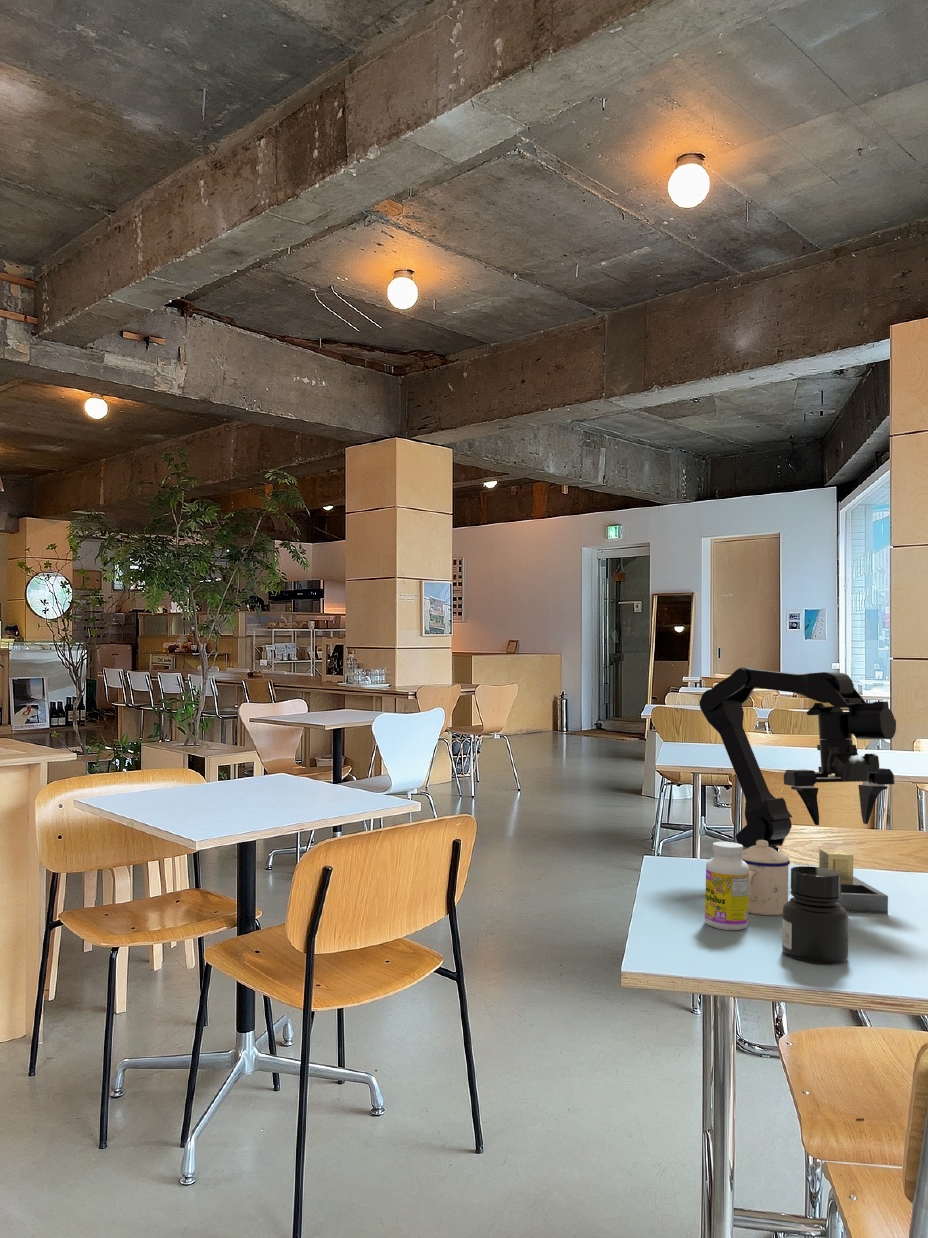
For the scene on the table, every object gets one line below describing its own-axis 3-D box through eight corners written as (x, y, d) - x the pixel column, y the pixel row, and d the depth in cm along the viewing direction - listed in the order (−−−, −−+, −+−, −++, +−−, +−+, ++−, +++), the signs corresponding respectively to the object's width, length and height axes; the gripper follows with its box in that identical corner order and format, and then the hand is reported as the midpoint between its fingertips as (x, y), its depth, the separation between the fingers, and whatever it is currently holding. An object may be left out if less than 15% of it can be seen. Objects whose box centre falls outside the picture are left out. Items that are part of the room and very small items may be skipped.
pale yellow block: (829, 882, 165) (829, 854, 165) (818, 875, 170) (818, 848, 170) (854, 883, 165) (854, 855, 165) (842, 876, 170) (842, 849, 170)
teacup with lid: (745, 899, 162) (746, 833, 163) (796, 909, 157) (797, 841, 157) (718, 912, 153) (719, 842, 154) (772, 923, 147) (773, 850, 148)
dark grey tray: (834, 911, 156) (835, 894, 156) (804, 890, 171) (804, 874, 171) (887, 913, 156) (888, 896, 156) (852, 892, 171) (852, 876, 171)
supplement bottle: (696, 921, 147) (697, 841, 148) (730, 918, 149) (731, 839, 150) (722, 933, 141) (723, 849, 141) (757, 930, 143) (758, 847, 144)
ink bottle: (799, 942, 137) (800, 861, 138) (858, 956, 131) (859, 872, 132) (770, 955, 130) (771, 870, 131) (831, 971, 124) (832, 882, 125)
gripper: (804, 741, 161) (810, 830, 160) (907, 739, 162) (913, 828, 161) (780, 740, 172) (785, 824, 171) (876, 738, 173) (882, 821, 172)
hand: (841, 824), depth 168 cm, fingers open, 9 cm apart
